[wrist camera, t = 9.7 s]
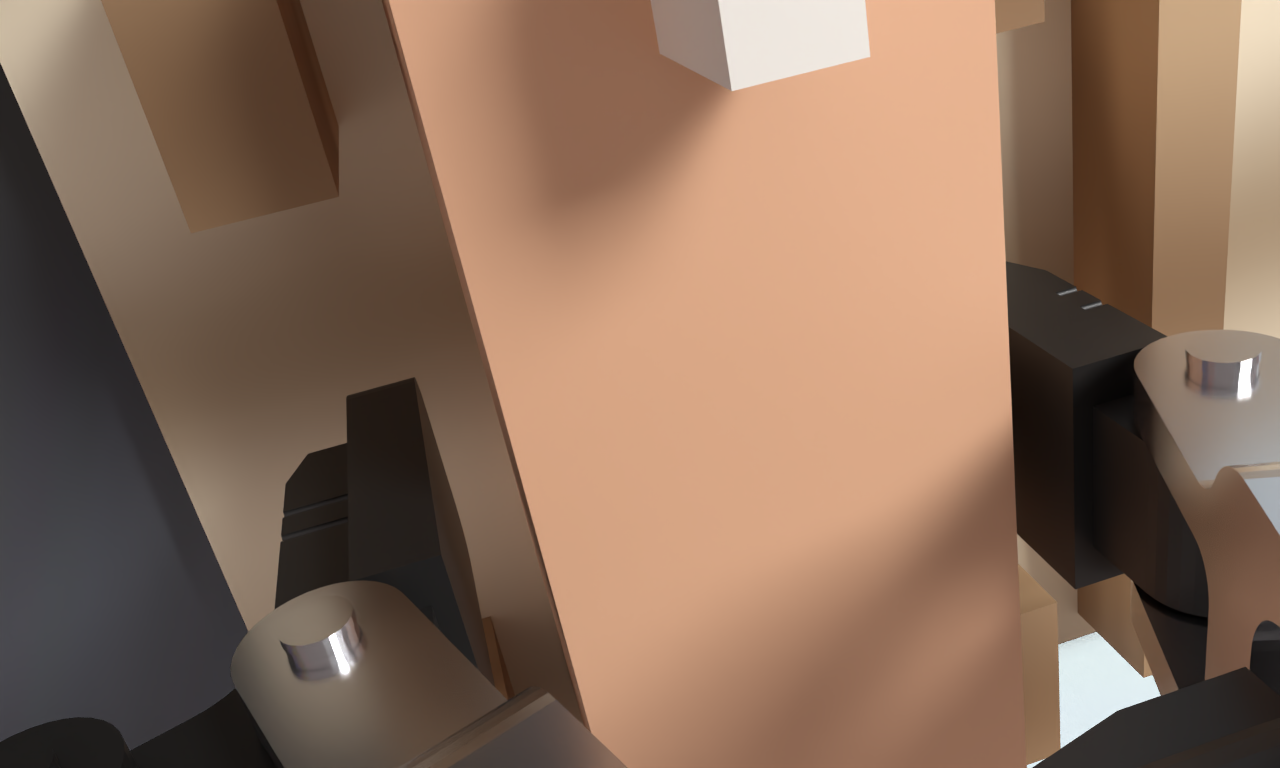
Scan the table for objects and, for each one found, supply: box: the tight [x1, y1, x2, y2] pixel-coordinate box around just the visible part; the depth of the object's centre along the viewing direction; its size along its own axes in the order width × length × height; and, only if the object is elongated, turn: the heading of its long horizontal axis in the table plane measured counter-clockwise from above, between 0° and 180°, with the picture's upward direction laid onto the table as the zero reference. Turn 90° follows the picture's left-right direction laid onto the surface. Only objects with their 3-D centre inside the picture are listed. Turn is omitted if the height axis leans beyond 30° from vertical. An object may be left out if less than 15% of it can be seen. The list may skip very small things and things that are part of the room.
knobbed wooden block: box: [381, 0, 1027, 768], centre depth 11 cm, size 12×4×6 cm, turn 13°
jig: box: [0, 0, 1280, 765], centre depth 13 cm, size 14×20×4 cm
